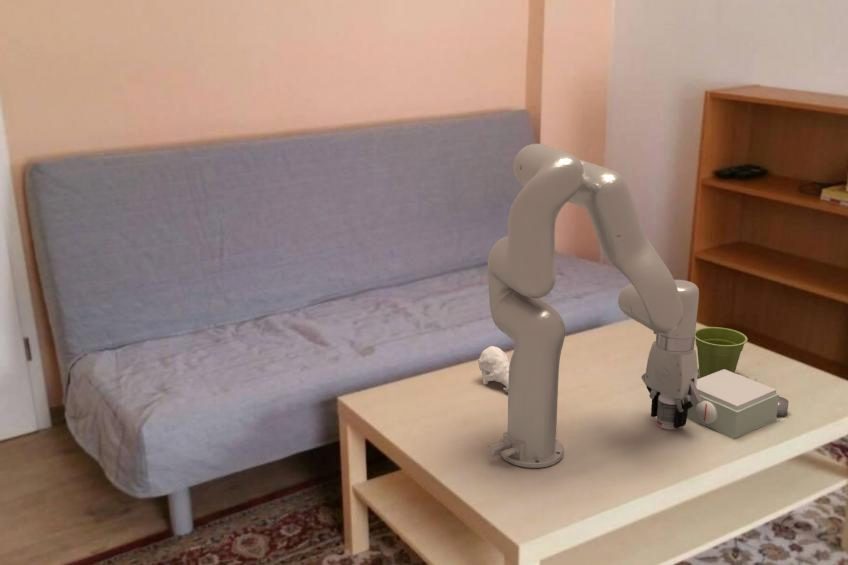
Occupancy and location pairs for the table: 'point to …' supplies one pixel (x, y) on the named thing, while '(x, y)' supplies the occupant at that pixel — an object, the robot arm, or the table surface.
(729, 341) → the plant pot
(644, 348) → the table surface
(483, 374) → the white lumpy rounded piece
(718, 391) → the scale
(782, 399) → the spacer
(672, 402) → the pill bottle
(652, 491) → the table surface
